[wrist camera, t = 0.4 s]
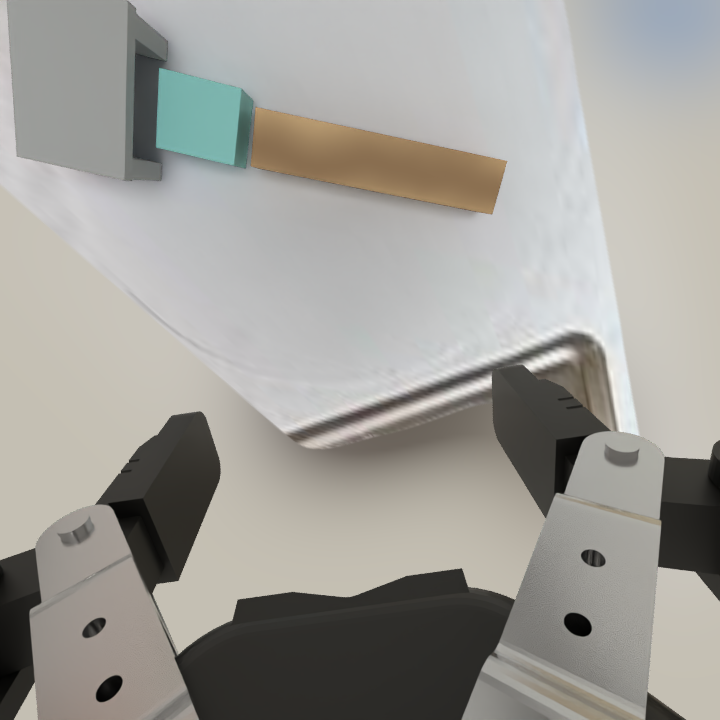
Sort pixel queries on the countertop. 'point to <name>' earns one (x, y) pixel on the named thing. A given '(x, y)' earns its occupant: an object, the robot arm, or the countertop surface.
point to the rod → (375, 162)
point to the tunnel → (79, 83)
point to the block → (203, 118)
